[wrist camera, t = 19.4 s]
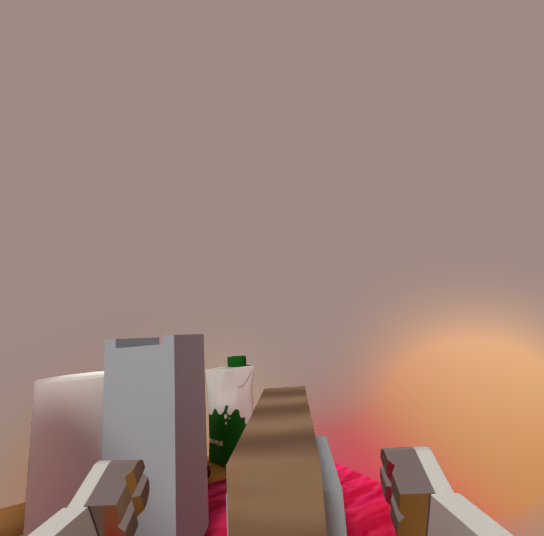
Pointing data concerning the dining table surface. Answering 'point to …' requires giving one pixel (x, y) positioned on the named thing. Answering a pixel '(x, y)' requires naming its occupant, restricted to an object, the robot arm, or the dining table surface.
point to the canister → (62, 442)
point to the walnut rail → (276, 470)
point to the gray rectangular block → (328, 491)
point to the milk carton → (228, 406)
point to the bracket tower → (160, 427)
